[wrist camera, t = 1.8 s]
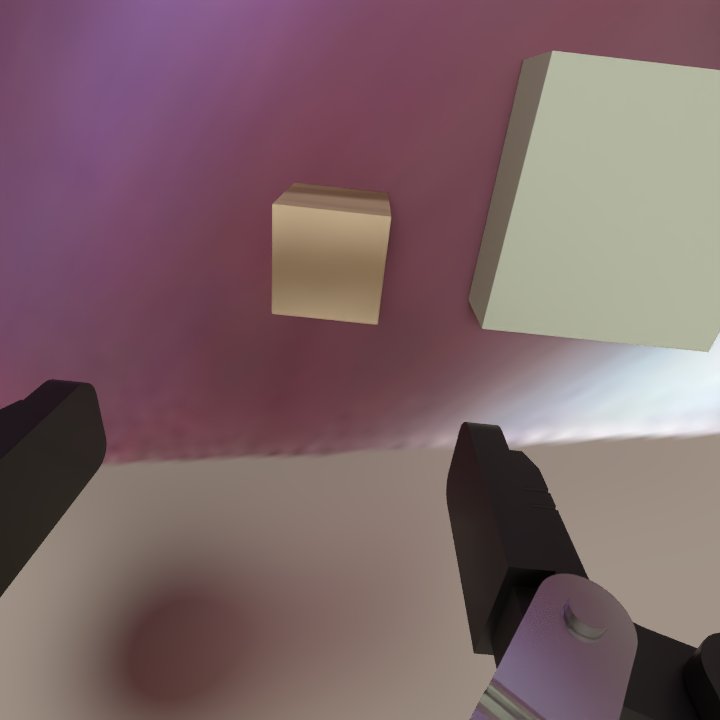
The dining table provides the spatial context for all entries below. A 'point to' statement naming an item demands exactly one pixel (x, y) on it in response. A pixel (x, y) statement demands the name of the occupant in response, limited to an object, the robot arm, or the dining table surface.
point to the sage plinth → (606, 205)
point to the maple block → (329, 252)
